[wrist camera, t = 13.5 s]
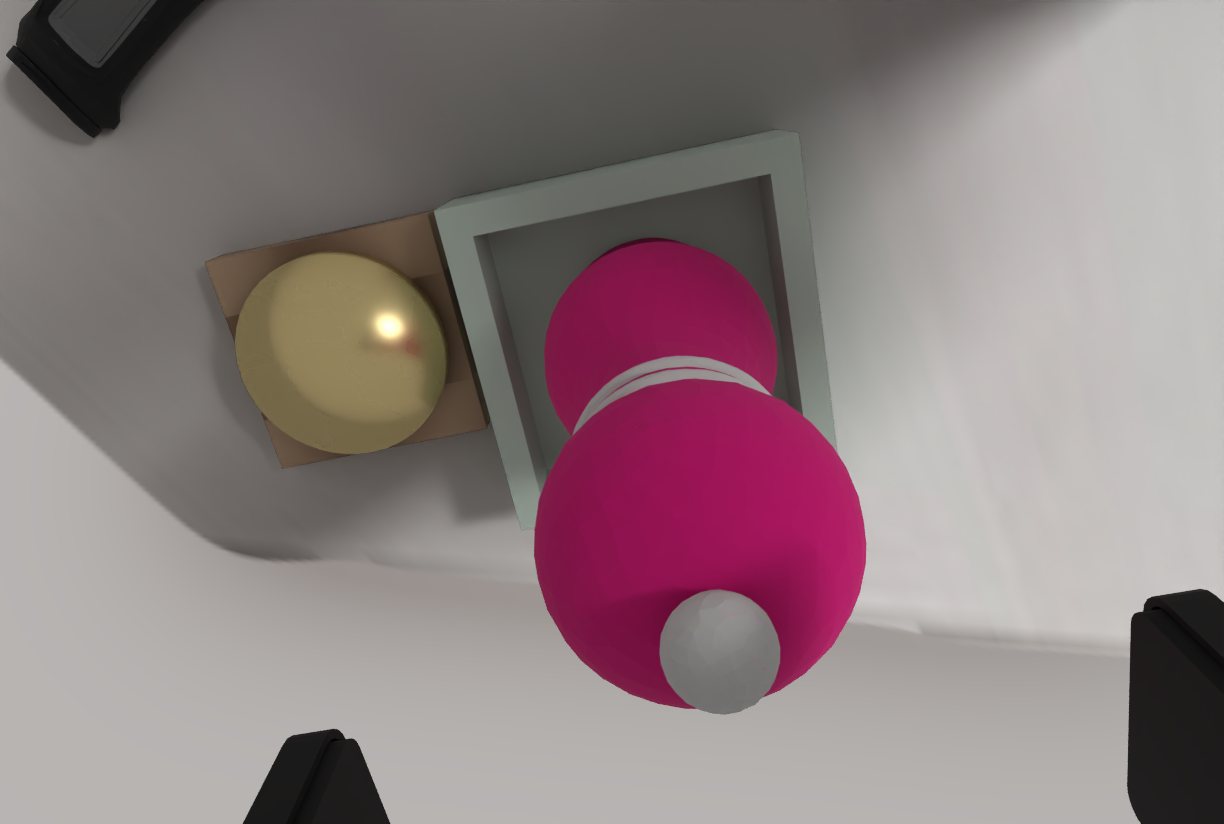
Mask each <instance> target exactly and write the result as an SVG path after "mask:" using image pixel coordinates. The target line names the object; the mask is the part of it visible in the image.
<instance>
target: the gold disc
mask: <svg viewBox="0 0 1224 824" xmlns="http://www.w3.org/2000/svg"><path fill="white" fill-rule="evenodd" d="M235 352H236V358H237V364H238V368H239V371H240V375H241V378H242V380H243V383H244V385H245V387H246V389H247V391H248V393H249V395H250V396H251V398H252V400H253V401H254V403H255V404H256V405H257V407H258V408H259V409H260V410H261V412H262V413H263V414H264V415H265V416H266V417H267V418H268V419H269V420H270V421H271V422H272V423H273V424H274V425H275V426H277V427H278V428H279V429H280V430H282V431H283V432H284V433H286V434H288V435H289V436H291V437H292V438H294V439H296V440H298V441H300V442H302V443H304V444H306V445H308V446H311V447H314V448H317V449H320V450H324V451H328V452H332V453H341V454H363V453H370V452H375V451H379V450H383V449H386V448H388V447H391V446H393V445H395V444H397V443H399V442H401V441H403V440H404V439H406V438H407V437H409V436H410V435H411V434H413V433H414V432H415V431H416V430H417V429H418V428H419V427H420V426H421V425H422V424H423V423H424V422H425V421H426V420H427V418H428V417H429V415H430V414H431V413H432V411H433V409H434V407H435V406H436V404H437V402H438V400H439V398H440V396H441V394H442V392H443V389H444V386H445V384H446V380H447V375H448V368H449V349H448V342H447V337H446V332H445V330H444V327H443V324H442V321H441V319H440V317H439V315H438V313H437V311H436V309H435V307H434V305H433V304H432V302H431V301H430V299H429V298H428V297H427V295H426V294H425V293H424V292H423V291H422V289H421V288H420V287H419V286H418V285H417V284H416V283H415V282H414V281H413V280H411V279H410V278H409V277H408V276H407V275H406V274H404V273H403V272H401V271H400V270H398V269H397V268H396V267H394V266H392V265H390V264H388V263H386V262H384V261H382V260H380V259H377V258H375V257H372V256H370V255H366V254H362V253H358V252H352V251H344V250H327V251H320V252H314V253H310V254H307V255H303V256H300V257H298V258H296V259H294V260H292V261H289V262H287V263H285V264H283V265H282V266H280V267H278V268H277V269H275V270H274V271H272V272H270V273H269V274H268V275H267V276H266V277H265V278H263V279H262V280H261V281H260V282H259V283H258V284H257V286H256V287H255V288H254V289H253V290H252V291H251V293H250V295H249V296H248V298H247V300H246V301H245V303H244V305H243V308H242V310H241V312H240V315H239V319H238V323H237V327H236V336H235Z"/></svg>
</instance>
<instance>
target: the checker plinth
mask: <svg viewBox="0 0 1224 824" xmlns="http://www.w3.org/2000/svg"><path fill="white" fill-rule="evenodd" d="M327 250H344V251H352V252H358V253H362V254H366V255H370V256H372V257H375V258H377V259H380V260H382V261H384V262H386V263H388V264H390V265H392V266H394V267H396V268H397V269H398V270H400V271H401V272H403V273H404V274H406V275H407V276H408V277H409V278H410V279H411V280H413V281H414V282H415V283H416V284H417V285H418V286H419V287H420V288H421V289H422V291H423V292H424V293H425V294H426V295H427V297H428V298H429V299H430V301H431V302H432V304H433V305H434V307H435V309H436V311H437V313H438V315H439V317H440V319H441V321H442V324H443V327H444V330H445V332H446V337H447V342H448V349H449V368H448V375H447V380H446V384H445V386H444V389H443V392H442V394H441V396H440V398H439V400H438V402H437V404H436V406H435V407H434V409H433V411H432V413H431V414H430V415H429V417H428V418H427V420H426V421H425V422H424V423H423V424H422V425H421V426H420V427H419V428H418V429H417V430H416V431H415V432H414V433H413V434H411V435H410V436H409V437H407V438H406V439H404V440H403V441H401V442H399V443H397V444H395V445H393V446H391V447H395V446H400V445H406V444H411V443H416V442H421V441H426V440H431V439H436V438H442V437H447V436H452V435H457V434H462V433H467V432H472V431H477V430H483V429H487V427H488V424H489V421H490V415H489V411H488V408H487V404H486V400H485V397H484V393H483V389H482V386H481V382H480V378H479V375H478V371H477V368H476V364H475V360H474V357H473V353H472V349H471V346H470V342H469V338H468V335H467V331H466V327H465V324H464V320H463V317H462V313H461V309H460V306H459V302H458V298H457V295H456V291H455V287H454V284H453V280H452V276H451V273H450V269H449V266H448V262H447V258H446V255H445V251H444V247H443V244H442V240H441V236H440V233H439V229H438V225H437V222H436V218H435V215H434V210H433V211H428V212H424V213H419V214H414V215H410V216H405V217H400V218H396V219H391V220H386V221H382V222H377V223H372V224H367V225H363V226H358V227H353V228H349V229H344V230H339V231H335V232H330V233H325V234H321V235H316V236H311V237H307V238H302V239H297V240H293V241H288V242H283V243H278V244H274V245H269V246H264V247H260V248H255V249H250V250H246V251H241V252H236V253H232V254H227V255H222V256H219V257H216V258H214V259H211V260H209V261H206V262H205V264H206V267H207V269H208V272H209V275H210V277H211V280H212V283H213V285H214V288H215V291H216V293H217V296H218V299H219V301H220V304H221V307H222V309H223V312H224V315H225V317H226V320H227V323H228V325H229V328H230V331H231V333H232V336H233V339H234V341H235V336H236V327H237V323H238V319H239V315H240V312H241V310H242V308H243V305H244V303H245V301H246V300H247V298H248V296H249V295H250V293H251V291H252V290H253V289H254V288H255V287H256V286H257V284H258V283H259V282H260V281H261V280H262V279H263V278H265V277H266V276H267V275H268V274H269V273H270V272H272V271H274V270H275V269H277V268H278V267H280V266H282V265H283V264H285V263H287V262H289V261H292V260H294V259H296V258H298V257H300V256H303V255H307V254H310V253H314V252H320V251H327ZM261 413H262V412H261ZM262 416H263V418H264V421H265V424H266V426H267V429H268V432H269V434H270V437H271V440H272V442H273V445H274V447H275V450H276V453H277V455H278V458H279V461H280V463H281V466H282V468H287V467H293V466H298V465H303V464H308V463H313V462H318V461H323V460H329V459H334V458H339V457H344V456H349V455H354V454H341V453H332V452H328V451H324V450H320V449H317V448H314V447H311V446H308V445H306V444H304V443H302V442H300V441H298V440H296V439H294V438H292V437H291V436H289V435H288V434H286V433H284V432H283V431H282V430H280V429H279V428H278V427H277V426H275V425H274V424H273V423H272V422H271V421H270V420H269V419H268V418H267V417H266V416H265V415H264V414H263V413H262ZM388 448H390V447H388Z"/></svg>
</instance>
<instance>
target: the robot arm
mask: <svg viewBox="0 0 1224 824" xmlns="http://www.w3.org/2000/svg"><path fill="white" fill-rule="evenodd" d="M1128 737H1129V738H1128V778H1127V780H1128V781H1127V787H1128V795H1129V798H1130V802H1131V805H1132V808H1133V810H1134V812H1135V814H1136V816H1137V818H1138V820H1139V821H1140V823H1141V824H1224V602H1223V601H1221V600H1220V599H1219V598H1218V597H1217V596H1216V595H1214V594H1212V593H1211V592H1209V591H1208V590H1203V589H1197V590H1191V591H1185V592H1179V593H1173V594H1166V595H1160V596H1154V597H1151V598H1149V599H1147V601H1146V602H1145V604H1144V610H1143V612H1138V613H1135V614H1134V615H1133V617H1132V620H1131V642H1130V688H1129V734H1128ZM243 824H390V822H389V819H388V817H387V814H386V812H385V809H384V807H383V804H382V802H381V799H380V797H379V794H378V792H377V789H376V787H375V784H374V782H373V779H372V777H371V774H370V772H369V769H368V767H367V764H366V762H365V759H364V757H363V754H362V752H361V749H360V747H359V745H358V743H357V742H356V741H355V740H354V739H345V737H344V736H343V734H342V733H341V732H340V731H339V730H337V729H330V730H324V731H317V732H311V733H305V734H299V735H293V736H291V737H289V738H288V739H287V740H286V741H285V743H284V744H283V746H282V748H281V750H280V752H279V754H278V756H277V758H276V760H275V762H274V764H273V765H272V767H271V770H270V771H269V773H268V775H267V777H266V779H265V781H264V783H263V785H262V787H261V789H260V791H259V793H258V795H257V797H256V799H255V801H254V803H253V805H252V807H251V808H250V810H249V812H248V814H247V817H246V819H245V820H244V822H243Z"/></svg>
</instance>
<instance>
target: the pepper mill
mask: <svg viewBox="0 0 1224 824" xmlns="http://www.w3.org/2000/svg"><path fill="white" fill-rule="evenodd" d="M544 358H545V378H546V383H547V388H548V393H549V396H550V399H551V402H552V404H553V407H554V409H555V412H556V414H557V416H558V417H559V419H560V420H561V422H562V423H563V425H564V426H565V428H566V429H567V431H568V432H569V434H570V435H571V436H572V437H571V438H570V439H569V440H568V441H567V442H566V443H565V445H564V446H563V448H562V450H561V452H560V454H559V456H558V458H557V460H556V462H555V464H554V465H553V467H552V469H551V471H550V473H549V475H548V477H547V479H546V481H545V484H544V487H543V490H542V492H541V495H540V498H539V502H538V509H537V516H536V523H535V541H534V557H535V563H536V569H537V575H538V581H539V584H540V587H541V590H542V593H543V597H544V600H545V603H546V606H547V610H548V611H549V613H550V615H551V617H552V618H553V620H554V622H555V624H556V625H557V627H558V629H559V630H560V632H561V634H562V636H563V637H564V639H565V641H566V643H567V644H568V645H569V646H570V647H571V649H572V650H573V651H574V652H575V653H576V655H577V656H578V657H579V658H580V660H582V661H583V662H584V663H585V664H586V665H587V666H589V667H590V668H591V669H592V670H593V671H595V672H596V673H597V674H598V675H599V676H601V677H602V678H603V679H605V680H607V681H608V682H610V683H612V684H614V685H615V686H617V687H619V688H621V689H622V690H624V691H626V692H628V693H629V694H631V695H634V696H637V697H640V698H643V699H646V700H649V701H652V702H655V703H657V704H663V705H669V706H674V707H679V708H685V709H686V708H687V709H699V710H702V711H706V712H709V713H715V714H730V713H736V712H740V711H742V710H744V709H746V708H748V707H750V706H753V705H755V704H756V703H757V702H758V701H759V700H760V699H761V698H762V697H765V696H767V695H770V694H772V693H775V692H777V691H779V690H781V689H782V688H784V687H785V686H787V685H788V684H790V683H791V682H793V681H794V680H796V679H797V678H799V677H800V676H802V675H803V674H805V673H806V672H807V671H808V670H809V669H810V668H811V667H812V666H813V665H814V664H815V663H816V662H817V661H818V660H819V659H820V658H821V657H822V656H823V655H824V654H825V653H826V652H827V651H828V650H829V649H830V648H831V647H832V645H833V644H834V643H835V641H836V639H837V637H838V636H839V634H840V632H841V631H842V629H843V627H844V626H845V624H846V622H847V620H848V619H849V617H850V615H851V613H852V611H853V608H854V606H855V603H856V601H857V598H858V596H859V593H860V589H861V584H862V579H863V574H864V569H865V564H866V538H865V529H864V521H863V516H862V511H861V507H860V502H859V497H858V495H857V492H856V490H855V487H854V485H853V483H852V480H851V478H850V476H849V473H848V471H847V468H846V467H845V465H844V463H843V462H842V460H841V459H840V457H839V455H838V454H837V452H836V451H835V449H834V447H833V446H832V445H831V444H830V443H829V442H828V440H827V439H826V438H825V437H824V436H823V435H822V434H821V433H820V431H819V430H818V429H817V428H816V427H815V426H814V425H813V424H812V423H811V422H810V421H809V420H807V419H806V418H805V417H804V416H802V415H801V414H800V413H799V412H797V411H796V410H795V409H793V408H792V407H791V406H790V405H788V404H787V403H786V402H785V401H783V400H781V399H778V398H776V397H773V396H772V393H773V389H774V384H775V380H776V375H777V362H778V354H777V344H776V338H775V334H774V331H773V327H772V324H771V320H770V318H769V315H768V313H767V311H766V309H765V307H764V305H763V303H762V300H761V298H760V296H759V295H758V294H757V292H756V291H755V289H754V288H753V287H752V285H751V284H750V282H749V281H748V280H747V279H746V278H745V277H744V276H743V275H742V274H741V273H740V272H739V271H738V270H736V269H735V268H734V267H733V266H732V265H731V264H729V263H728V262H726V261H725V260H723V259H721V258H720V257H718V256H717V255H715V254H713V253H710V252H708V251H705V250H703V249H701V248H698V247H694V246H690V245H688V244H685V243H682V242H679V241H675V240H671V239H665V238H642V239H637V240H633V241H629V242H626V243H622V244H620V245H618V246H615V247H613V248H612V249H610V250H608V251H607V252H605V253H604V254H602V255H601V256H600V257H598V258H597V259H596V260H594V261H593V262H592V263H591V264H590V265H589V266H588V267H587V268H586V269H585V270H584V271H582V272H581V274H580V275H579V276H578V277H577V278H576V279H575V280H574V281H573V282H572V283H571V284H570V285H569V286H568V288H567V289H566V291H565V292H564V293H563V295H562V296H561V298H560V299H559V301H558V303H557V305H556V307H555V309H554V311H553V313H552V315H551V319H550V322H549V325H548V329H547V332H546V340H545V348H544Z"/></svg>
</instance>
